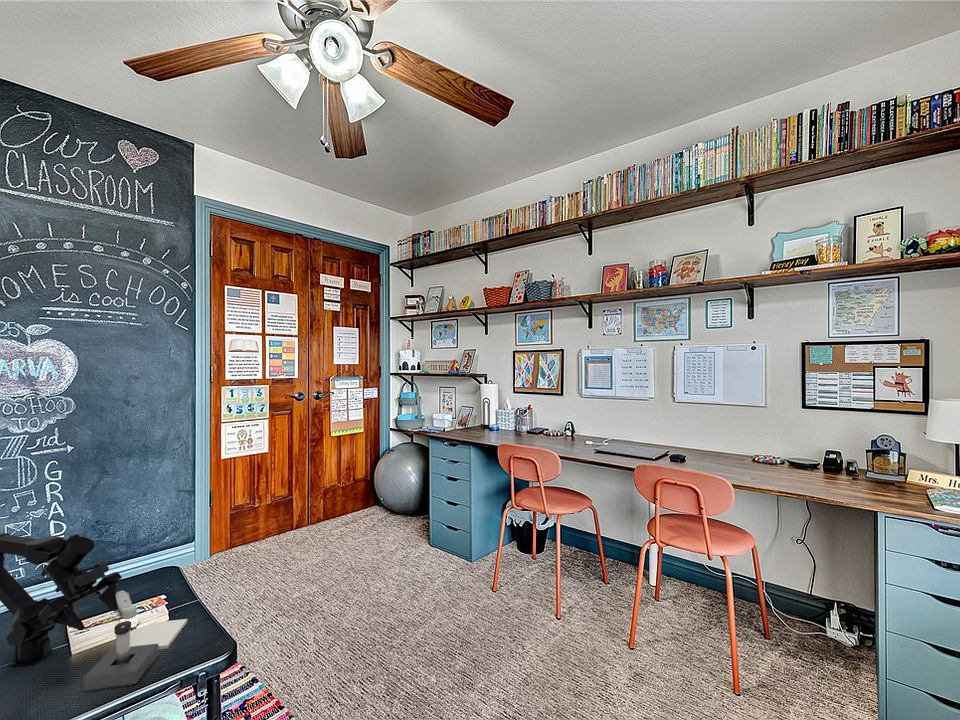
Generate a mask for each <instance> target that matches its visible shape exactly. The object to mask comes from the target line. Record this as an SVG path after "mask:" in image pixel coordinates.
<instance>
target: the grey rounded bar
mask: <svg viewBox="0 0 960 720" xmlns="http://www.w3.org/2000/svg"><path fill="white" fill-rule="evenodd" d="M115 594H116V600H117V605H118V611H120V613H121V618H123V619H130V618H133V617H135V616H136V615H137V614H138V609H137V607H136V606H135V605H133V603H132V600H131V598H130V593H129V592H127V591H125V590H119V591H116V592H115Z"/></svg>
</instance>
